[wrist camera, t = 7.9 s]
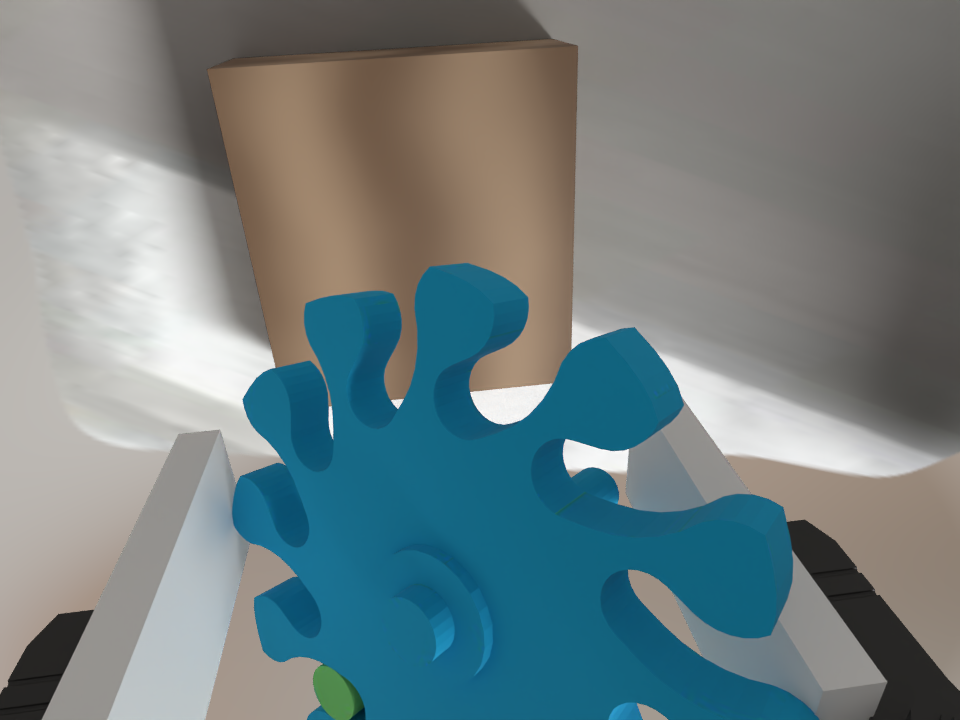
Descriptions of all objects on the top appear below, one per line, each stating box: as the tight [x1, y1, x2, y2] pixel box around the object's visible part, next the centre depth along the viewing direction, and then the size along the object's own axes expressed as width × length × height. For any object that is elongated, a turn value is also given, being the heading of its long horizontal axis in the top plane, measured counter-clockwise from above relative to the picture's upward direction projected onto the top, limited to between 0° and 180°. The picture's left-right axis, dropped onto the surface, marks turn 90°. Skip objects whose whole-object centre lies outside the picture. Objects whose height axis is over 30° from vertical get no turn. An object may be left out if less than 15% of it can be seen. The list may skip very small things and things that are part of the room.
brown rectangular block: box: [207, 39, 578, 406], centre depth 26 cm, size 12×13×4 cm
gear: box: [232, 263, 819, 720], centre depth 12 cm, size 11×6×10 cm
